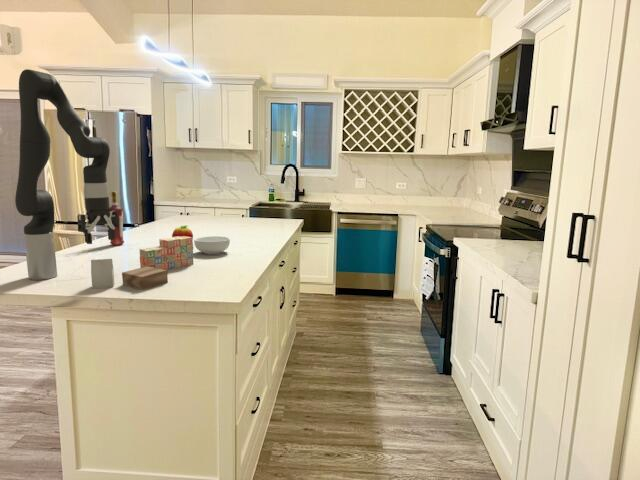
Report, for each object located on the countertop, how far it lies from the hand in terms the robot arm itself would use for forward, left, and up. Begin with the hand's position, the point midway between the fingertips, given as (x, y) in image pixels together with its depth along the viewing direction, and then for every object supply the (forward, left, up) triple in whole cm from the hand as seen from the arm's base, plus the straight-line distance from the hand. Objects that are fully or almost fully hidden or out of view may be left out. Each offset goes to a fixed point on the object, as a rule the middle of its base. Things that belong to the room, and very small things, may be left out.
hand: (100, 241), depth 154 cm
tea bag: (0, 0, -17) cm, 17 cm away
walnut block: (+10, +10, -17) cm, 22 cm away
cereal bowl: (-6, +64, -17) cm, 66 cm away
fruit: (-33, +71, -17) cm, 80 cm away
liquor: (-61, +52, -17) cm, 82 cm away
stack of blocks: (-2, +32, -17) cm, 36 cm away
